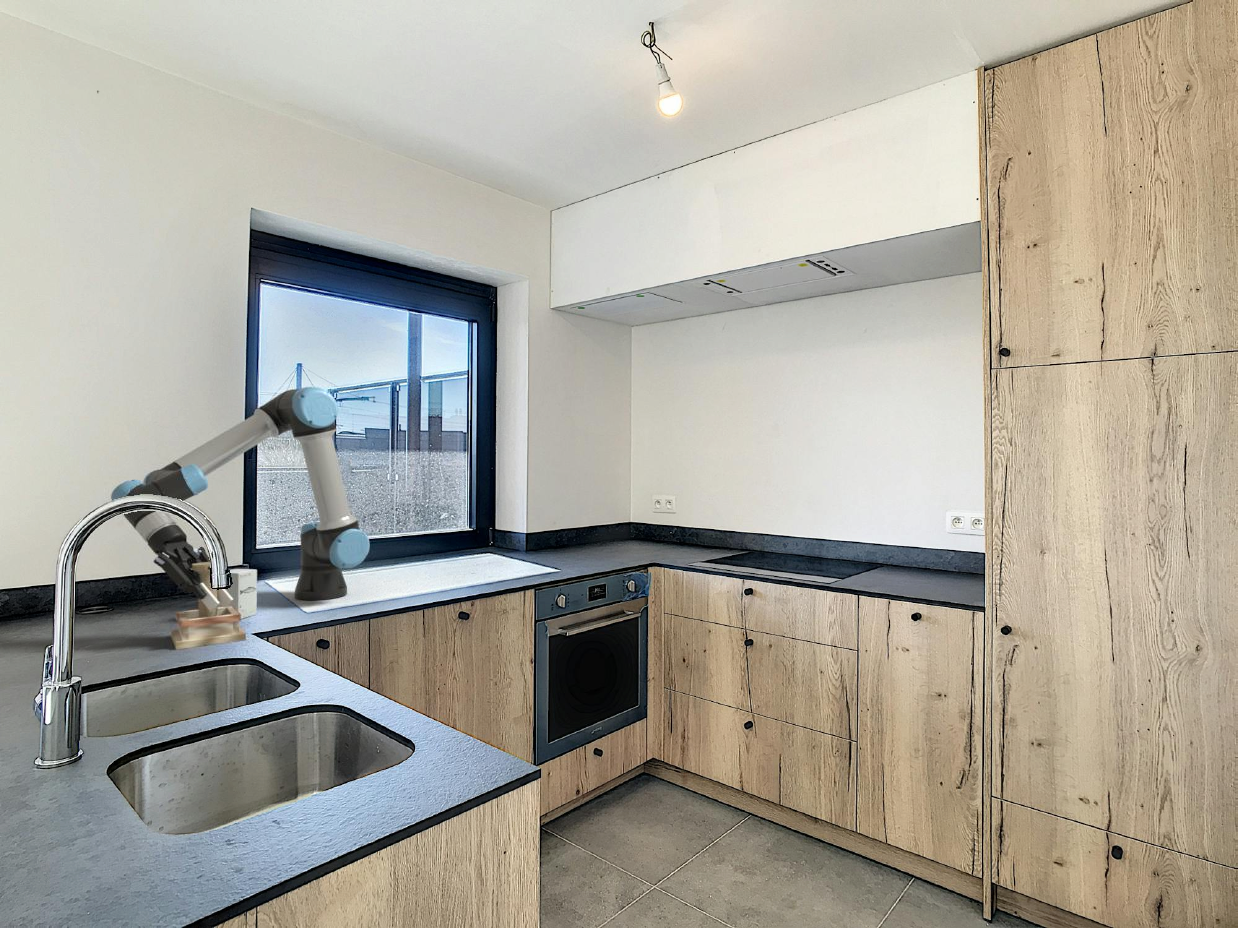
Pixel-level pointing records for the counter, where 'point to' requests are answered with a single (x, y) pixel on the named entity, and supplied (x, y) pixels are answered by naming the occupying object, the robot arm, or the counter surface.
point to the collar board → (207, 628)
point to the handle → (205, 578)
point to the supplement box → (243, 591)
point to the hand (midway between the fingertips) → (222, 604)
